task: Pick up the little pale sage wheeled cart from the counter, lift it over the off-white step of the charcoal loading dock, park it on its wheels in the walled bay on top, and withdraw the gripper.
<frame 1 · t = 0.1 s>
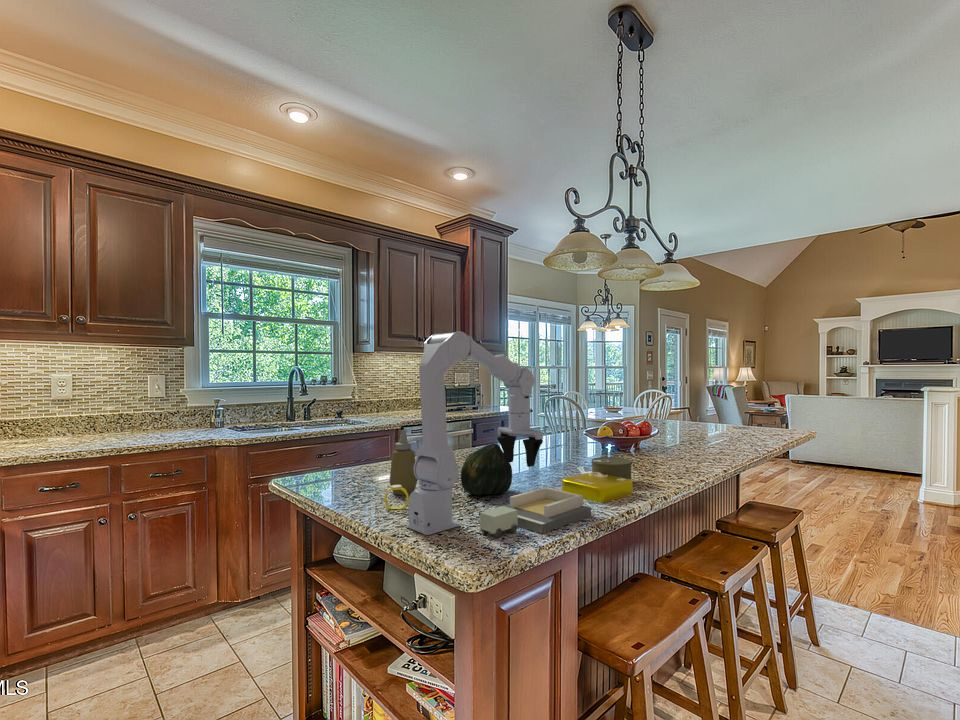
hand: (519, 464, 125), 10 cm above the countertop, tool pointing down, fingers open, 7 cm apart
squash: (487, 494, 135), on the countertop
cart: (499, 532, 102), on the countertop
can: (611, 483, 146), on the countertop
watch: (396, 509, 120), on the countertop
dock: (540, 516, 112), on the countertop
squeeze bottle: (403, 493, 136), on the countertop
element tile: (597, 495, 134), on the countertop
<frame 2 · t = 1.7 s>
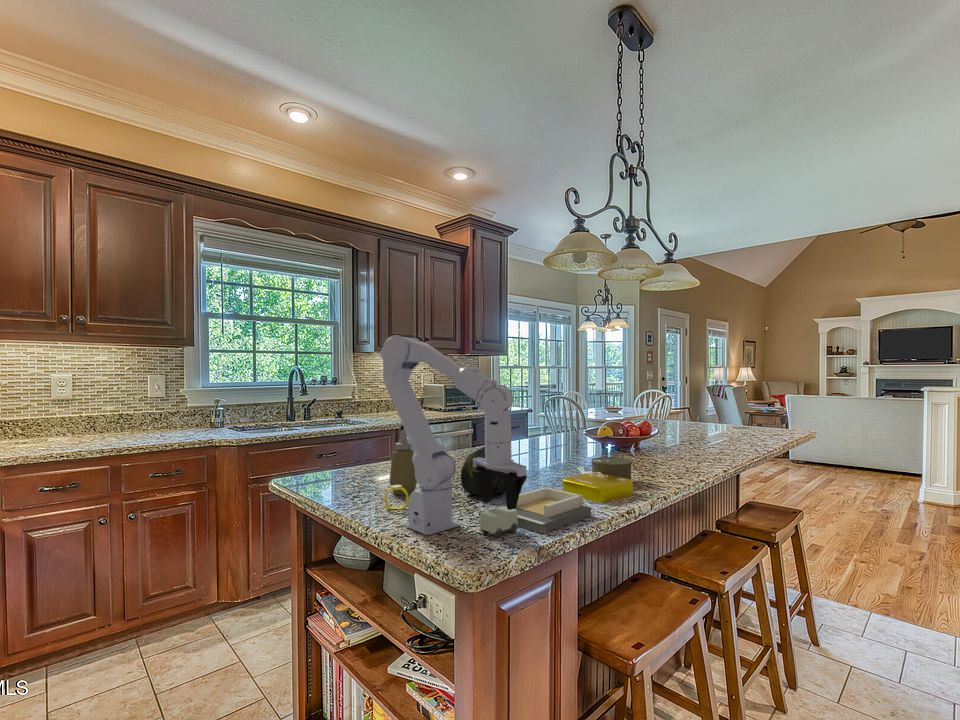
hand: (499, 505, 102), 6 cm above the countertop, tool pointing down, fingers open, 7 cm apart
nothing on the countertop moved.
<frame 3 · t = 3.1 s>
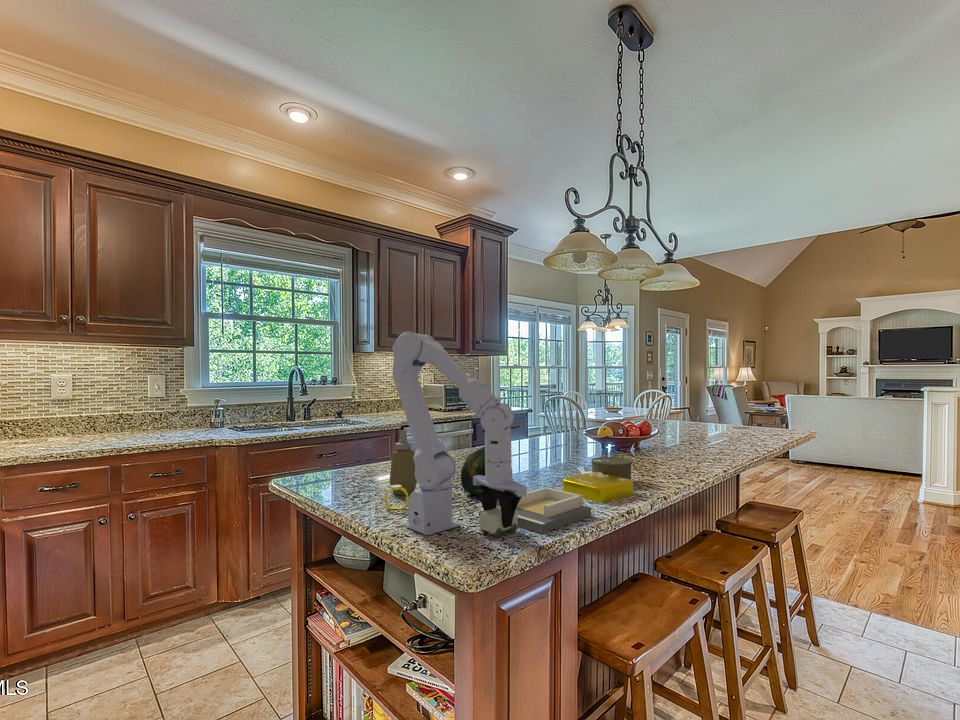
hand: (499, 523, 102), 2 cm above the countertop, tool pointing down, fingers closed on cart, 4 cm apart
cart: (499, 532, 102), on the countertop, touching gripper
everything else where it was.
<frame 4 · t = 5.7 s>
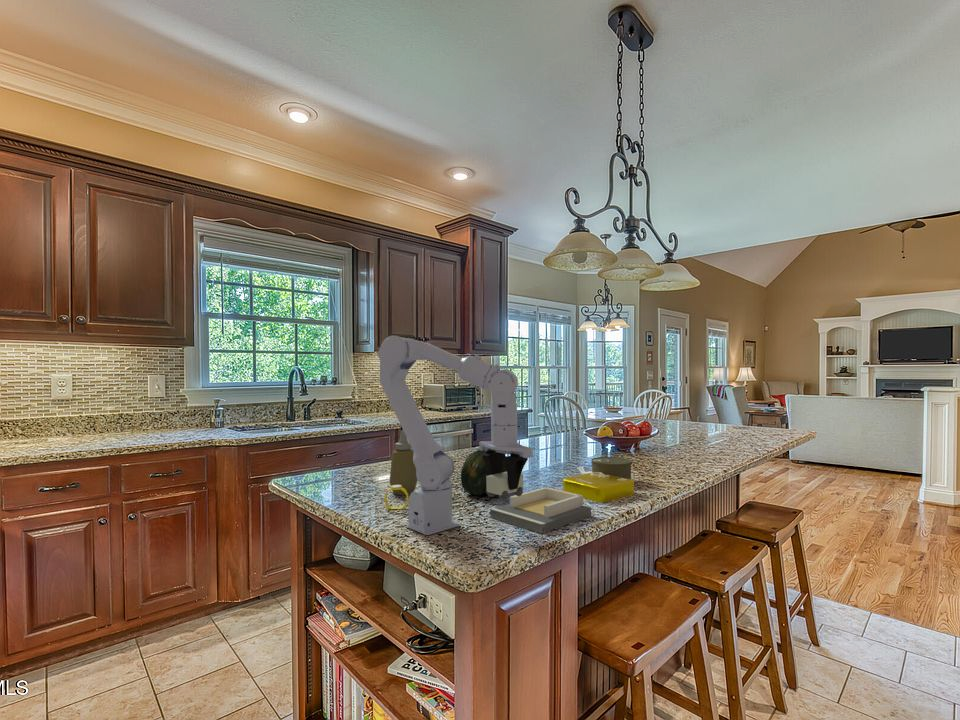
hand: (505, 486, 103), 9 cm above the countertop, tool pointing down, fingers closed on cart, 4 cm apart
cart: (505, 496, 103), point 7 cm above the countertop, touching gripper
everything else where it was.
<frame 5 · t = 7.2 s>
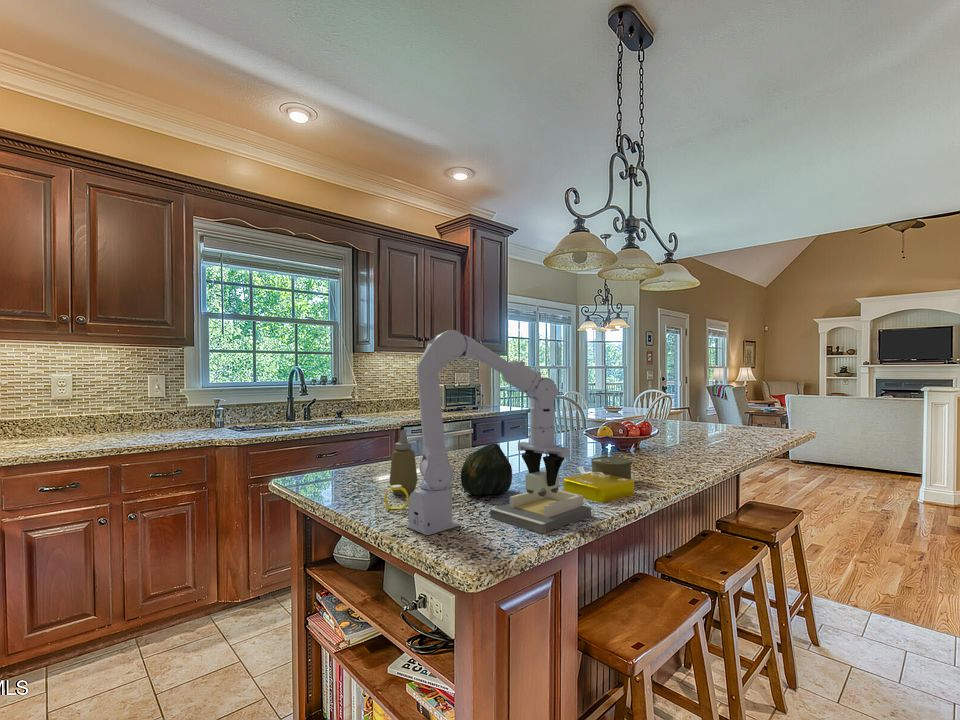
hand: (543, 483, 113), 8 cm above the countertop, tool pointing down, fingers closed on cart, 4 cm apart
cart: (542, 493, 113), point 5 cm above the countertop, touching gripper
everything else where it was.
when the fingers open (5 cm above the countertop, at t = 8.5 s): cart drops 1 cm, resting on dock.
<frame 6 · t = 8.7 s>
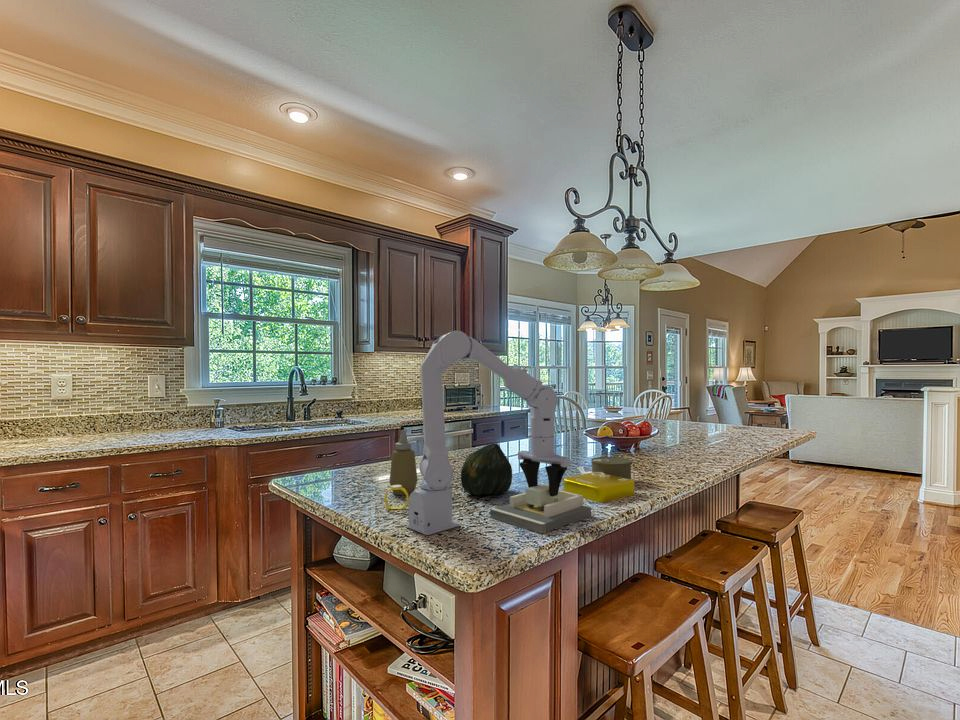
hand: (543, 493, 113), 5 cm above the countertop, tool pointing down, fingers open, 6 cm apart
cart: (542, 506, 113), point 2 cm above the countertop, touching dock
everything else where it was.
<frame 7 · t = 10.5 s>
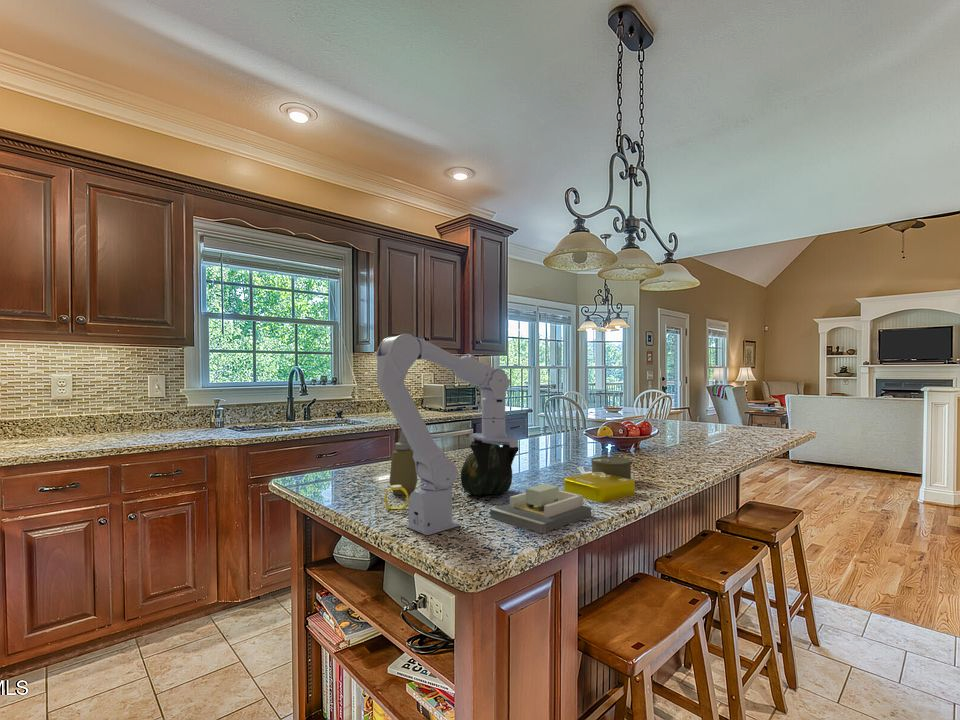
hand: (493, 474, 115), 10 cm above the countertop, tool pointing down, fingers open, 7 cm apart
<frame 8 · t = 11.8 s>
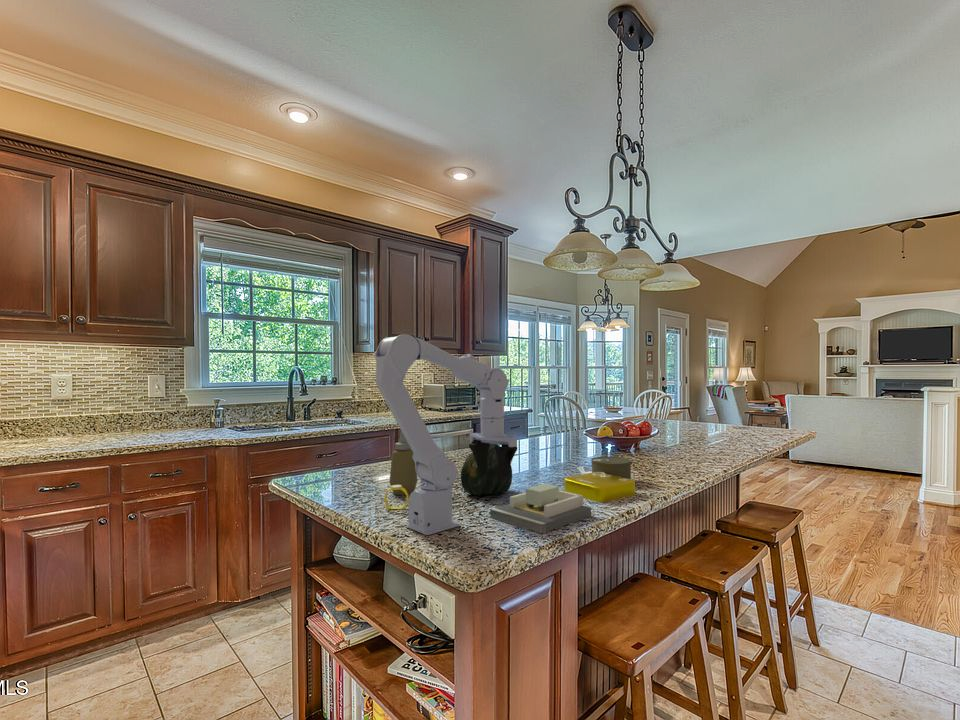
hand: (492, 473, 115), 10 cm above the countertop, tool pointing down, fingers open, 7 cm apart
at the end: cart inside the target area on the dock (0.3 cm from its centre), point 2.2 cm above the dock's base; cart tilted 0°; the gripper is holding nothing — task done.
